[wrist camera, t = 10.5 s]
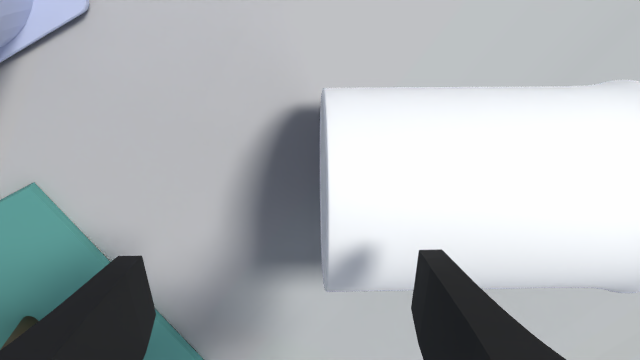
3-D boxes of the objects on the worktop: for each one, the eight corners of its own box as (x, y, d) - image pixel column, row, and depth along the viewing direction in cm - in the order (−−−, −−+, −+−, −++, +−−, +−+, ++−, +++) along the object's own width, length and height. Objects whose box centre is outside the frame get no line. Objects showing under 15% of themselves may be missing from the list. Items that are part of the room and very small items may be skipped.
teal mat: (-193, 301, 24) (-202, 307, 24) (33, 182, 21) (28, 187, 21) (24, 445, 31) (20, 453, 31) (215, 371, 29) (214, 378, 28)
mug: (548, 318, 23) (320, 323, 23) (514, 172, 27) (317, 175, 26) (754, 261, 12) (329, 268, 12) (651, 31, 16) (322, 31, 16)
